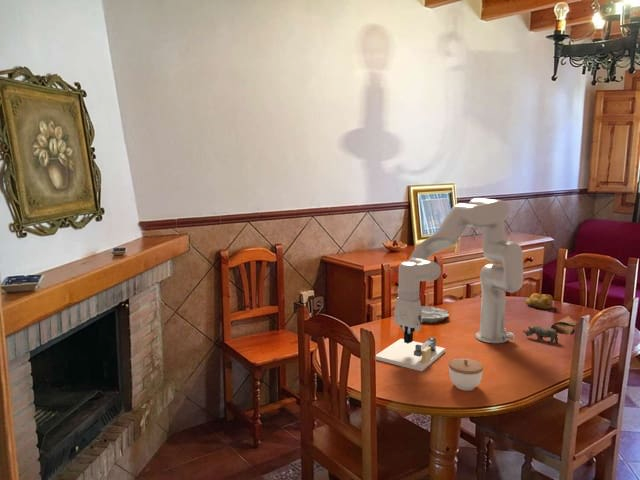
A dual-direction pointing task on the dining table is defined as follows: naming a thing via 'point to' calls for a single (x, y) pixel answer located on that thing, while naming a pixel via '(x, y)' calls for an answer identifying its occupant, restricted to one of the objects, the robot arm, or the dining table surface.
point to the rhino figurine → (542, 333)
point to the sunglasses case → (565, 326)
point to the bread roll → (540, 301)
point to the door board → (409, 355)
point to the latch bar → (430, 343)
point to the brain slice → (433, 314)
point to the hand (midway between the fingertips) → (408, 342)
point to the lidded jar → (465, 373)
